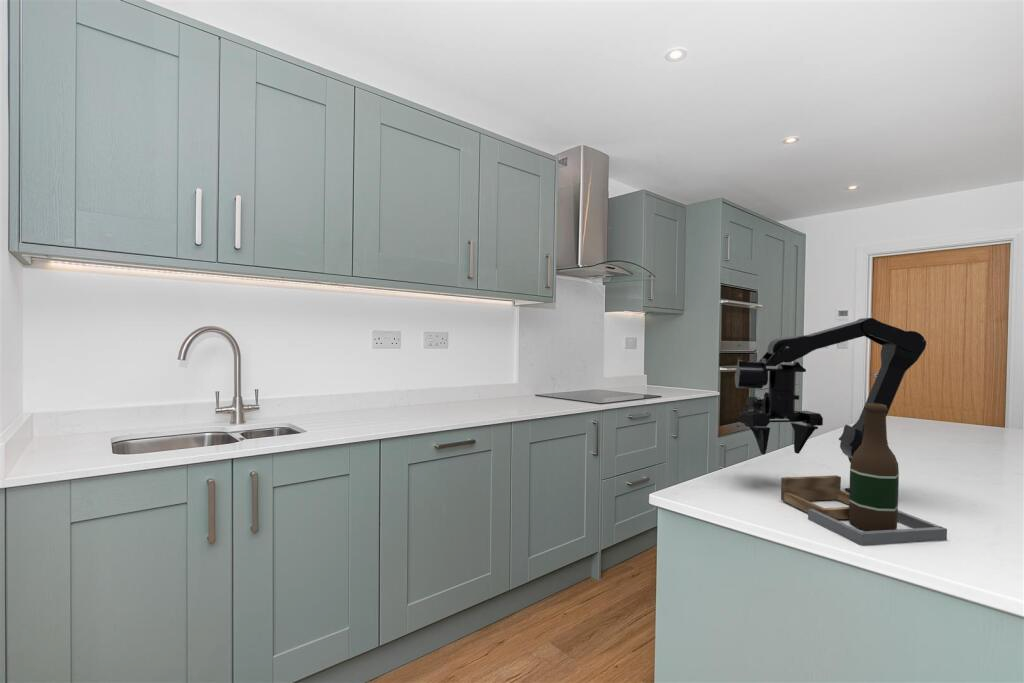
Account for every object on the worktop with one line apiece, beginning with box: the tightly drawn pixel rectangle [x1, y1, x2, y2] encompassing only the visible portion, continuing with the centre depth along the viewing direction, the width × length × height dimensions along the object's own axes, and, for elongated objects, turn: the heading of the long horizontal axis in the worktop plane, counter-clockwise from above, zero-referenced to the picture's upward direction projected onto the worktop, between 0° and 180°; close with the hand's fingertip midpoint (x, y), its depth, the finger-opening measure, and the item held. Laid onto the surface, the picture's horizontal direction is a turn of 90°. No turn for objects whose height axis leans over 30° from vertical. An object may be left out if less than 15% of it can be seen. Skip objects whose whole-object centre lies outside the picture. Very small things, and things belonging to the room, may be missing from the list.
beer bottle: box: [848, 403, 900, 532], centre depth 96 cm, size 8×8×24 cm
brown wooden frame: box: [780, 474, 849, 520], centre depth 106 cm, size 14×12×5 cm
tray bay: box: [807, 509, 948, 546], centre depth 95 cm, size 18×12×2 cm
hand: (779, 453), depth 120 cm, fingers open, 9 cm apart
